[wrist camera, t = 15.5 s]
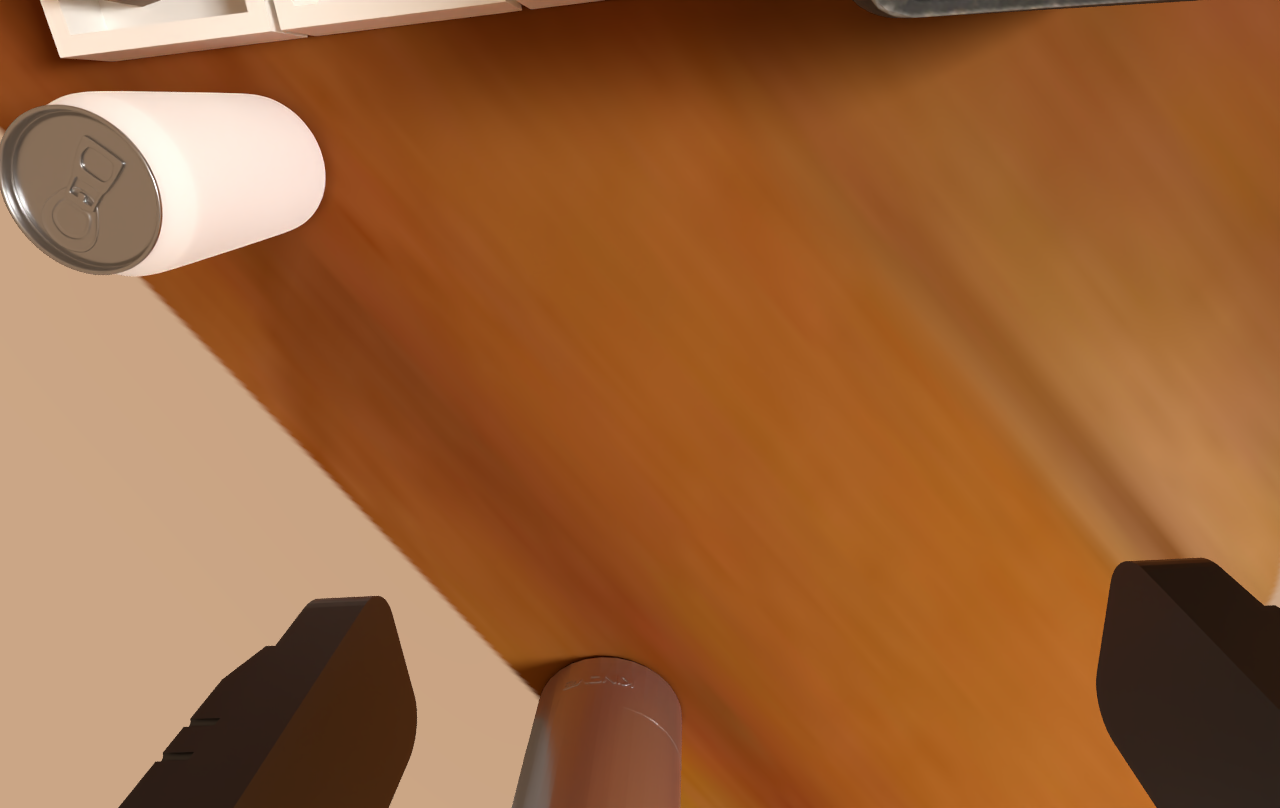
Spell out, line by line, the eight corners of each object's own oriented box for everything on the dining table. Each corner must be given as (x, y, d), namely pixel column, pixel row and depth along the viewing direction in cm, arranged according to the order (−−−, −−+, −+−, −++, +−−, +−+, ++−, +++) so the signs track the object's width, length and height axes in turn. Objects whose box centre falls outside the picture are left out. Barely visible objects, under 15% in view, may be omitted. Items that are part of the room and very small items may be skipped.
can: (177, 175, 37) (-44, 208, 26) (235, 62, 35) (22, 45, 24) (291, 258, 38) (127, 323, 27) (354, 154, 36) (204, 177, 25)
